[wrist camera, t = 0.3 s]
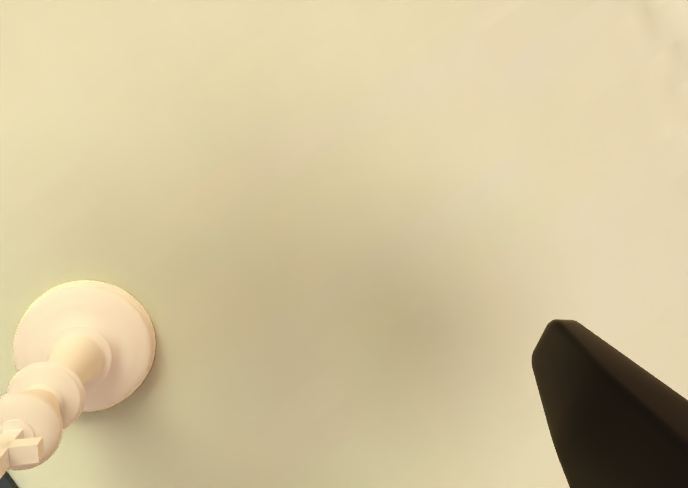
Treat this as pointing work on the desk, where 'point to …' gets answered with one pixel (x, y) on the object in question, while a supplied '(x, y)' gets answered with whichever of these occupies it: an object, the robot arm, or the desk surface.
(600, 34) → the desk surface
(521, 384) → the desk surface
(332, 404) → the desk surface
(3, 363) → the desk surface
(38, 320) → the chess piece
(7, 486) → the desk mat
